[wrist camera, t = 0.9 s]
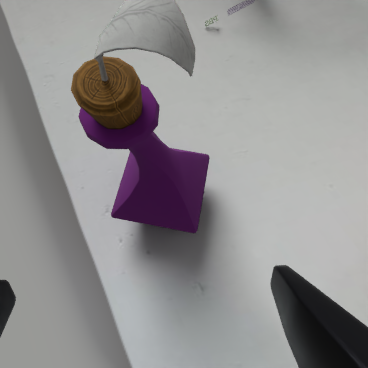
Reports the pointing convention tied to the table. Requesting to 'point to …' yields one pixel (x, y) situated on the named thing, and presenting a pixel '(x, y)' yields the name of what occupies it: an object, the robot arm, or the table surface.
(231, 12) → the logo
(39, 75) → the table surface
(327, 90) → the table surface
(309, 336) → the robot arm
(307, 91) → the table surface
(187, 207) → the perfume bottle
